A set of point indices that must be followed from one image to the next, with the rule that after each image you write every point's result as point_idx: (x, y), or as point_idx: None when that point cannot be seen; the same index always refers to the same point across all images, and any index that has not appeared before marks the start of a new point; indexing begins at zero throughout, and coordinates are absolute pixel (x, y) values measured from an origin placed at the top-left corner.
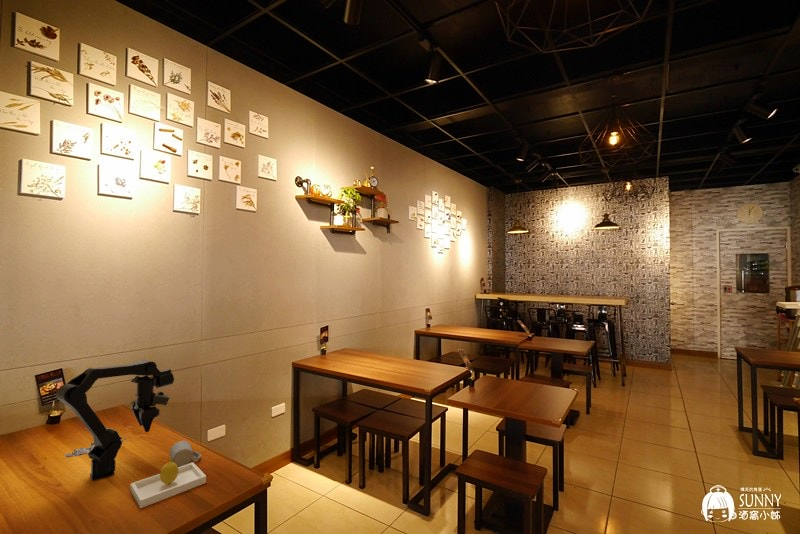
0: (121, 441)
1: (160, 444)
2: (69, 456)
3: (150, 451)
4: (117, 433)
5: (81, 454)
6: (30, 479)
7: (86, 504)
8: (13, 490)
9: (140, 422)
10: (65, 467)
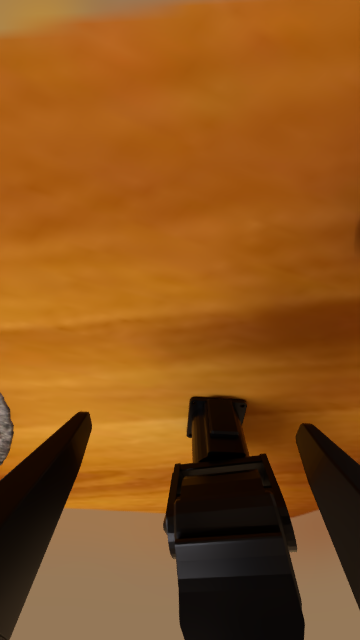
0: (276, 514)
1: (82, 206)
2: (9, 442)
3: (141, 271)
4: (302, 616)
5: (10, 424)
6: (105, 491)
7: None
8: (139, 507)
9: (77, 460)
10: (84, 453)
